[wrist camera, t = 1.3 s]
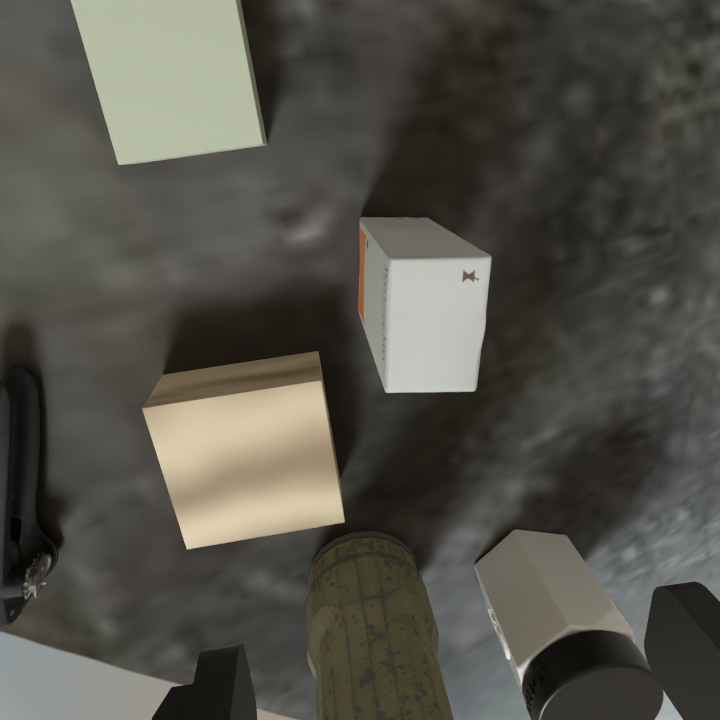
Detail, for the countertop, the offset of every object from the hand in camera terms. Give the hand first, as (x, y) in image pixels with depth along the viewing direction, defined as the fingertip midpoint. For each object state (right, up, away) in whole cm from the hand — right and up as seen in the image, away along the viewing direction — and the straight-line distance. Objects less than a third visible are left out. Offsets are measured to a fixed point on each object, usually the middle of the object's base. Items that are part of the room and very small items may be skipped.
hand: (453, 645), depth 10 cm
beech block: (-9, +1, +26) cm, 27 cm away
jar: (+11, -11, +33) cm, 37 cm away
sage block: (-11, +20, +18) cm, 29 cm away
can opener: (-25, -2, +25) cm, 36 cm away
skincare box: (0, +11, +22) cm, 25 cm away
